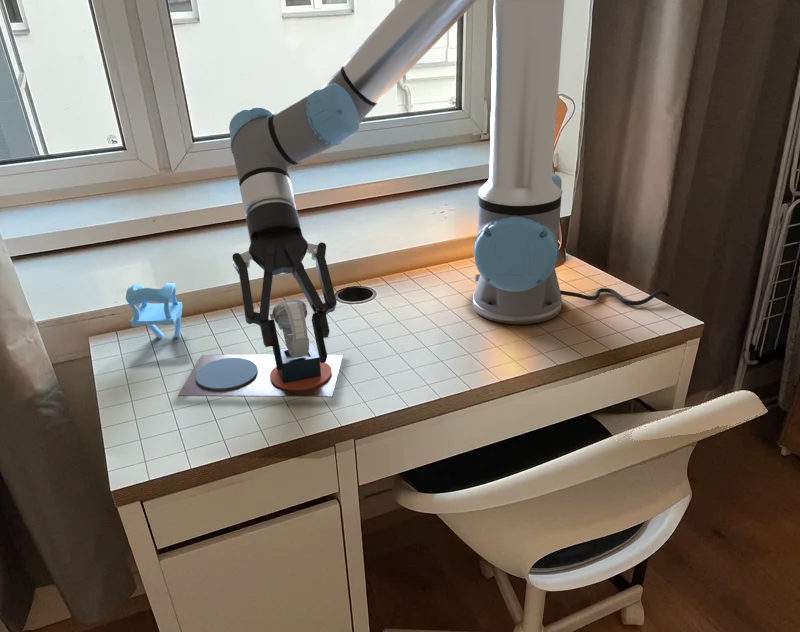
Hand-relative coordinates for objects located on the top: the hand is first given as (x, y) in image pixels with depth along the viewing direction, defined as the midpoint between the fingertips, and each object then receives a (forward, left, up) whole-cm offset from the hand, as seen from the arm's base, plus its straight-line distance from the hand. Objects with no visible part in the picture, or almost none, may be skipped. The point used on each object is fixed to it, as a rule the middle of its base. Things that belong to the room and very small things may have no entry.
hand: (302, 363), depth 98 cm
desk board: (+7, -3, -5) cm, 9 cm away
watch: (+1, -4, -4) cm, 5 cm away
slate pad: (+12, -3, -4) cm, 13 cm away
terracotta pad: (+1, -3, -4) cm, 5 cm away
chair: (+25, -12, -5) cm, 28 cm away
